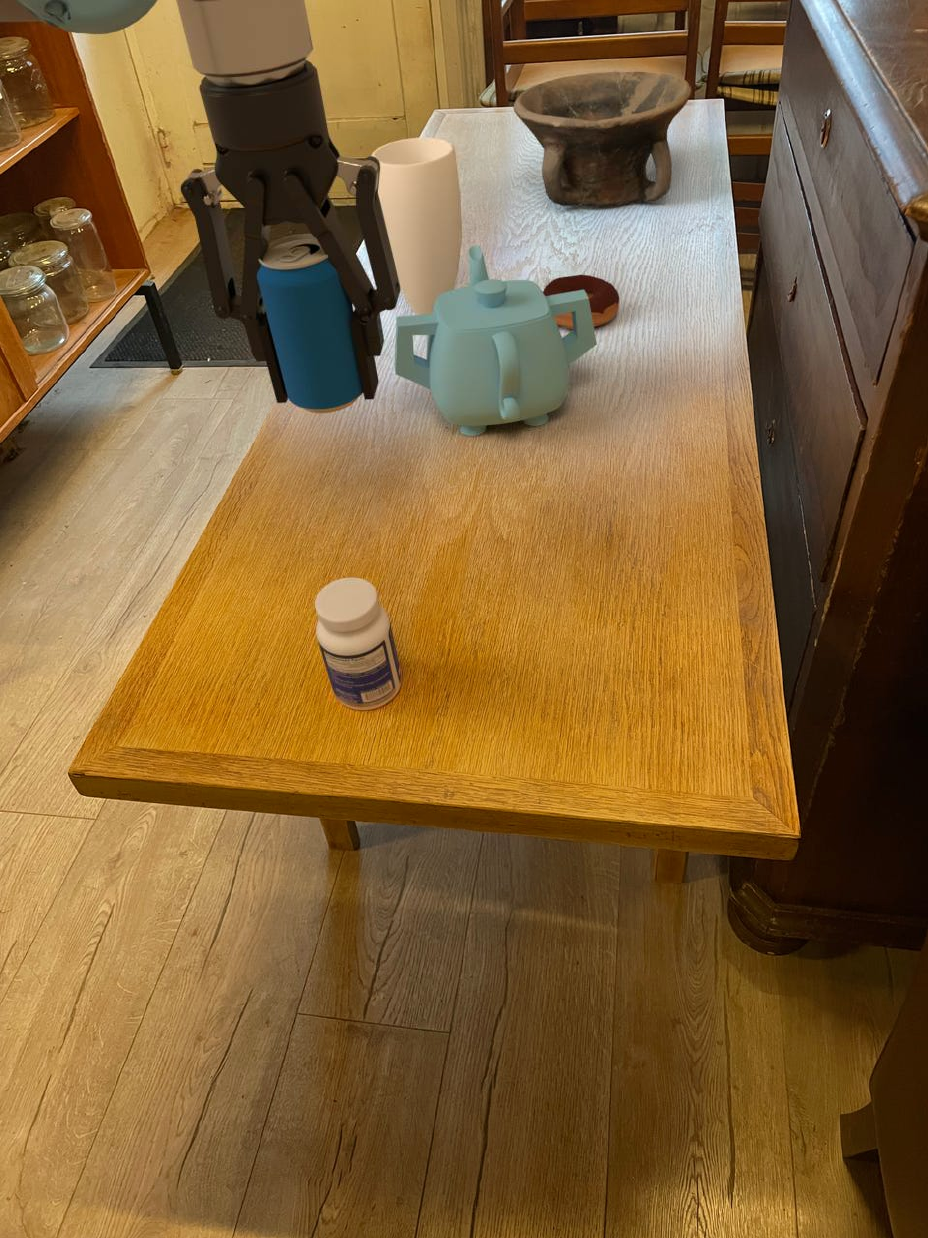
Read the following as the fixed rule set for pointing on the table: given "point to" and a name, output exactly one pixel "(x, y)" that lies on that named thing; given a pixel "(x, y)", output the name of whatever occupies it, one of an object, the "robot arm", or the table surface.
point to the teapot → (495, 350)
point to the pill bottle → (357, 644)
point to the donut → (598, 293)
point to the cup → (422, 216)
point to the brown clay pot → (604, 135)
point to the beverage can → (310, 324)
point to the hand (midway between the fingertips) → (328, 391)
